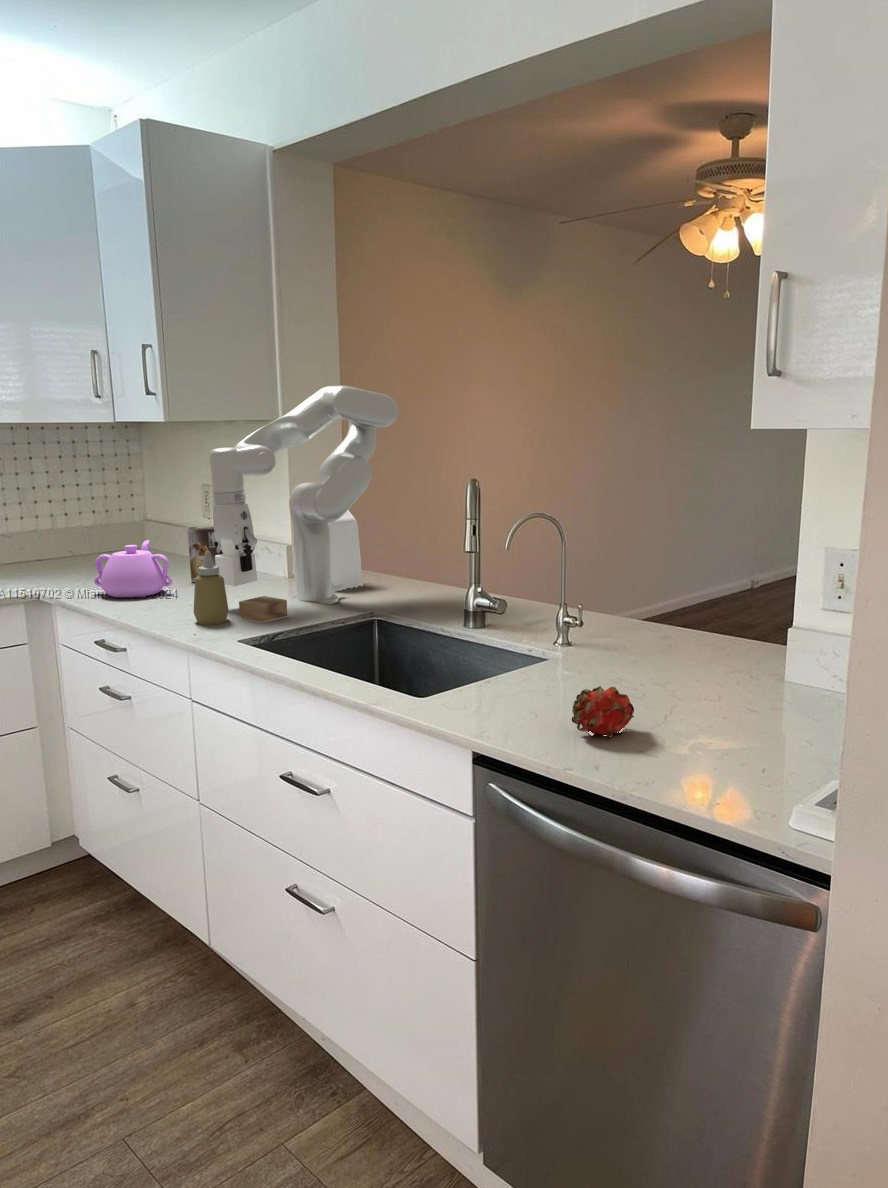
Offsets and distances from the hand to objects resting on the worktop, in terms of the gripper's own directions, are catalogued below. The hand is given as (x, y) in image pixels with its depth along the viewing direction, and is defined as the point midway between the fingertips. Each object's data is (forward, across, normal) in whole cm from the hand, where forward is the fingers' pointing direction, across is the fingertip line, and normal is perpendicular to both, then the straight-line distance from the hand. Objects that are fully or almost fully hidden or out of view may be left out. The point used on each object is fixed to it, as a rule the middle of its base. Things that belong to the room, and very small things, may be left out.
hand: (236, 568), depth 227 cm
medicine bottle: (+4, 0, 0) cm, 4 cm away
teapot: (+11, +44, 0) cm, 46 cm away
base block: (+10, -12, +3) cm, 16 cm away
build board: (+12, -12, +3) cm, 17 cm away
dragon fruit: (+12, -114, +23) cm, 116 cm away
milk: (+13, +5, -39) cm, 42 cm away
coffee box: (+12, +42, -23) cm, 50 cm away
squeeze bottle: (+11, -6, +13) cm, 18 cm away
